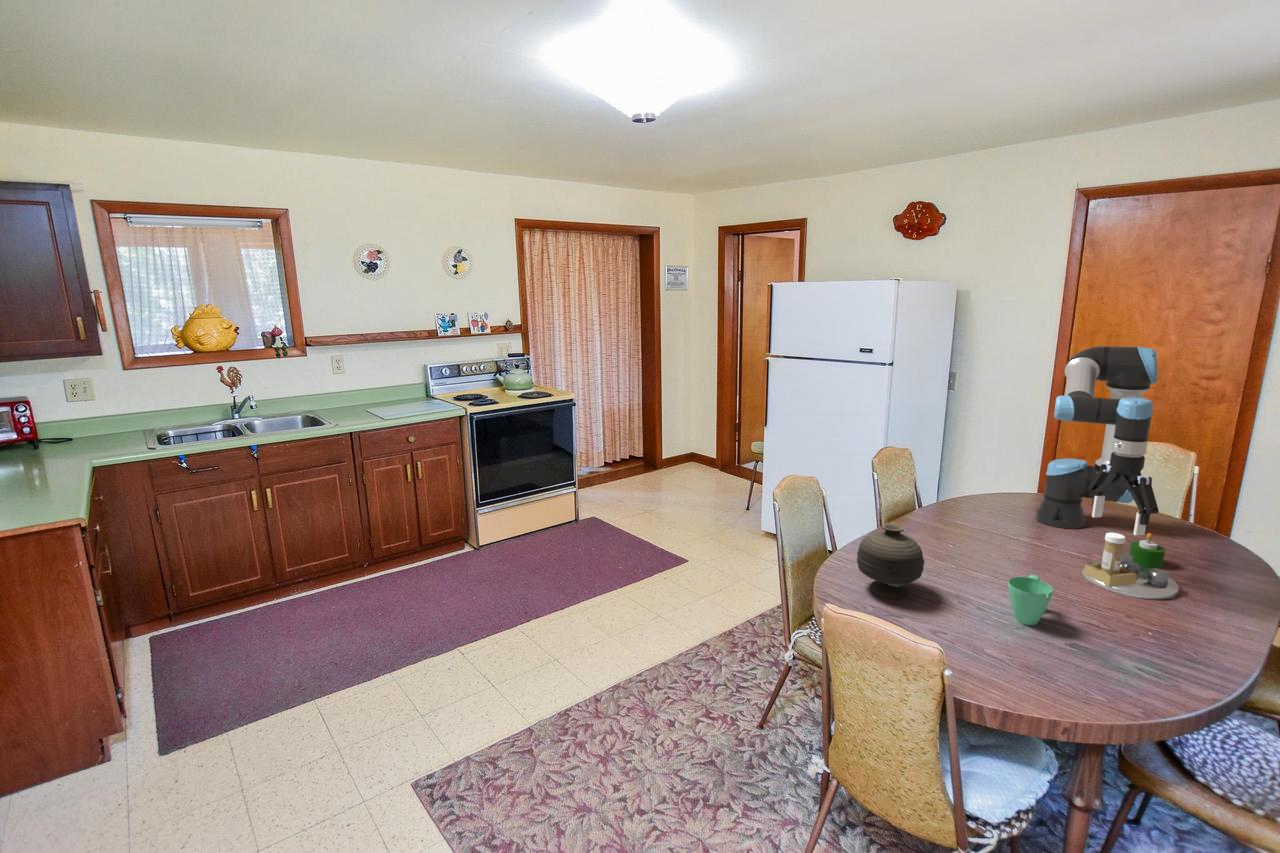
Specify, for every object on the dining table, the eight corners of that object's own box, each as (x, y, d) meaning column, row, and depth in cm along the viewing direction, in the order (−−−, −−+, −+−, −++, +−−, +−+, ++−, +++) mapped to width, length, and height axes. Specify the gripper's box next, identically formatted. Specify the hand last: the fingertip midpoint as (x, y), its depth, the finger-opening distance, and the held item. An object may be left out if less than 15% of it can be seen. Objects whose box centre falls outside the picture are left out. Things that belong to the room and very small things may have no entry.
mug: (1046, 634, 154) (1051, 598, 152) (1001, 622, 160) (1005, 587, 158) (1052, 610, 165) (1056, 576, 163) (1009, 600, 171) (1013, 566, 169)
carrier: (1064, 568, 190) (1066, 551, 189) (1128, 562, 193) (1130, 546, 192) (1128, 602, 169) (1131, 584, 168) (1199, 596, 171) (1202, 577, 170)
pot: (869, 567, 192) (878, 508, 186) (928, 591, 179) (939, 528, 174) (841, 588, 180) (849, 526, 174) (902, 615, 167) (913, 548, 162)
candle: (1163, 562, 193) (1168, 532, 191) (1161, 571, 187) (1166, 540, 185) (1130, 555, 198) (1134, 526, 196) (1126, 563, 192) (1131, 533, 190)
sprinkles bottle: (1121, 582, 177) (1128, 538, 174) (1102, 580, 178) (1109, 537, 175) (1114, 575, 181) (1121, 532, 178) (1096, 574, 183) (1103, 531, 180)
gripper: (1079, 443, 183) (1070, 510, 188) (1158, 467, 159) (1145, 544, 164) (1101, 441, 184) (1092, 509, 189) (1184, 465, 160) (1170, 541, 165)
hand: (1117, 525), depth 176 cm, fingers open, 13 cm apart
